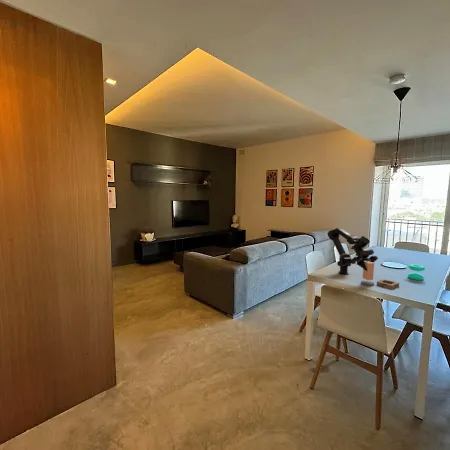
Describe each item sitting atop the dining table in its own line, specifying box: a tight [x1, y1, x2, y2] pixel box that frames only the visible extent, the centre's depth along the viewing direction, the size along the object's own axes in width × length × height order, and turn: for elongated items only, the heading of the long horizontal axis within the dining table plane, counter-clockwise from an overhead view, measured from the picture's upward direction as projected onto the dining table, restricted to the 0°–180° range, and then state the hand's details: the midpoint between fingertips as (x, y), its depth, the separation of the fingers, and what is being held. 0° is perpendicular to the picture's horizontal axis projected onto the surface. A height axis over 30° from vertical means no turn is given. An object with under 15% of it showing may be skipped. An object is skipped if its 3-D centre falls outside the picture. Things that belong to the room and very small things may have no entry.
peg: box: [362, 261, 375, 281], centre depth 183 cm, size 5×5×12 cm
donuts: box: [407, 263, 426, 281], centre depth 197 cm, size 10×10×10 cm
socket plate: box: [376, 278, 400, 290], centre depth 181 cm, size 10×10×2 cm
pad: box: [360, 280, 375, 287], centre depth 184 cm, size 8×8×1 cm
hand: (369, 270), depth 181 cm, fingers closed on peg, 5 cm apart
